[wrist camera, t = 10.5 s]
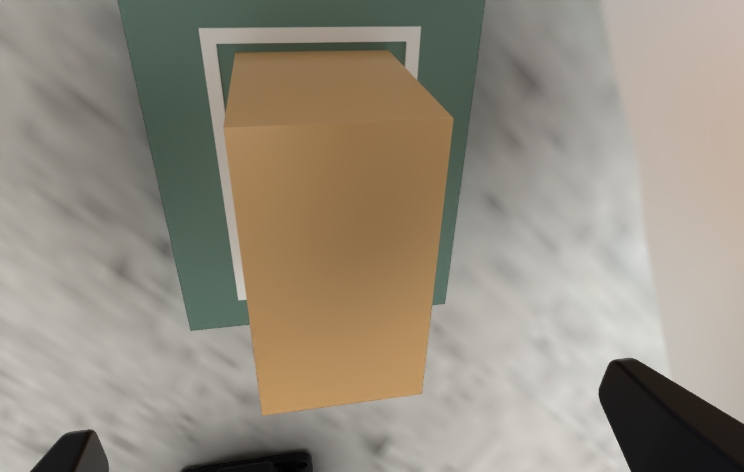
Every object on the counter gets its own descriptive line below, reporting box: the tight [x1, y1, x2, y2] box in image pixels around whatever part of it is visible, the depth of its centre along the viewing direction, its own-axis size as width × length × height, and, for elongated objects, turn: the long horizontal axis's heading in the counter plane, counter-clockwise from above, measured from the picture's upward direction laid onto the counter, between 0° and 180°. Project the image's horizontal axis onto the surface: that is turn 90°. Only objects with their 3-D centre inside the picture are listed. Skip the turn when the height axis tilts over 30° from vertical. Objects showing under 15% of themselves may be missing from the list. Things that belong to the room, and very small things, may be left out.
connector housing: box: [223, 50, 454, 416], centre depth 14 cm, size 8×4×6 cm, turn 179°
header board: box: [118, 0, 485, 331], centre depth 16 cm, size 12×10×4 cm
